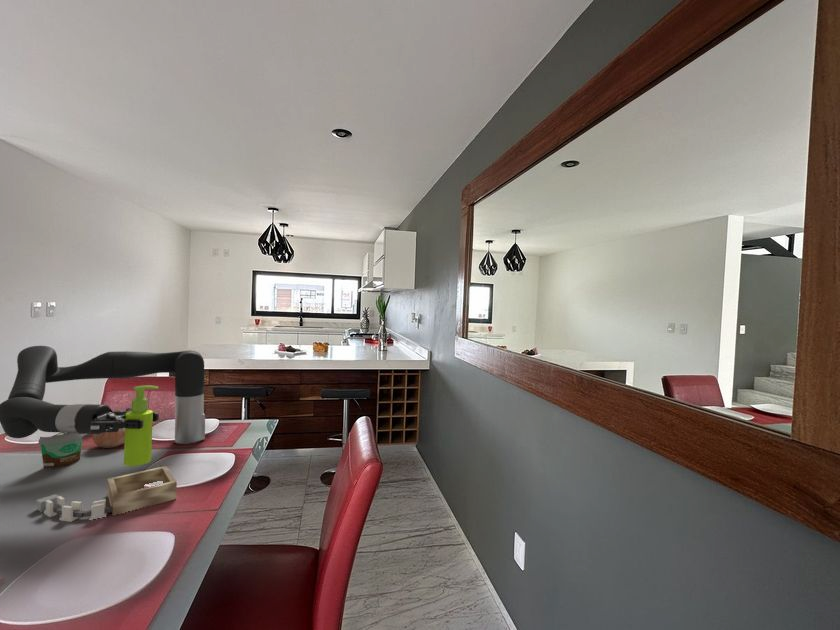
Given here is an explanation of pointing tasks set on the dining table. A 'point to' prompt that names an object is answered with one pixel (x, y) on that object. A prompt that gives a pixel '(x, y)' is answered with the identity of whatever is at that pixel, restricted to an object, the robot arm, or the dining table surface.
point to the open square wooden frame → (141, 490)
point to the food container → (61, 449)
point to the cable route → (71, 508)
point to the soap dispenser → (139, 430)
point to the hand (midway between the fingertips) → (150, 420)
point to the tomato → (109, 439)
